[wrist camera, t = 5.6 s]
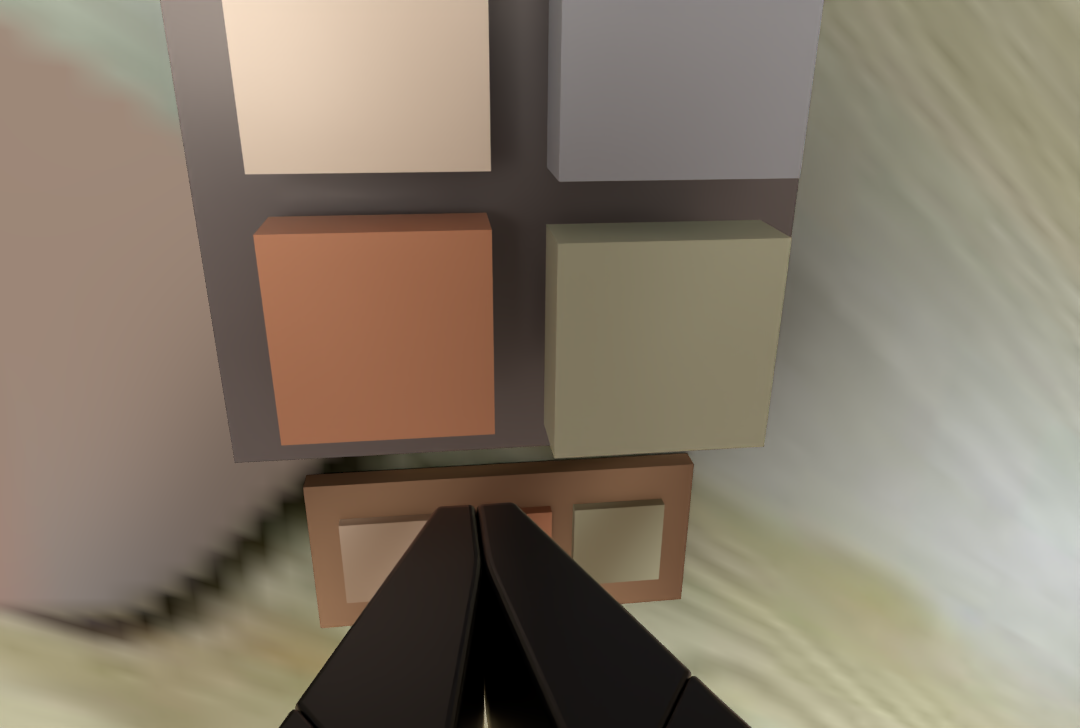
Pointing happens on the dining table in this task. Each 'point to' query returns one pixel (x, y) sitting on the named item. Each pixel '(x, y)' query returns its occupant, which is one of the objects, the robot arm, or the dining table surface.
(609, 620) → the robot arm
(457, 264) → the rust key
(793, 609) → the dining table surface
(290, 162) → the cream key
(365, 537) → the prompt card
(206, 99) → the keypad board
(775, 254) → the sage key
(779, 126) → the slate-blue key
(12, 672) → the dining table surface
